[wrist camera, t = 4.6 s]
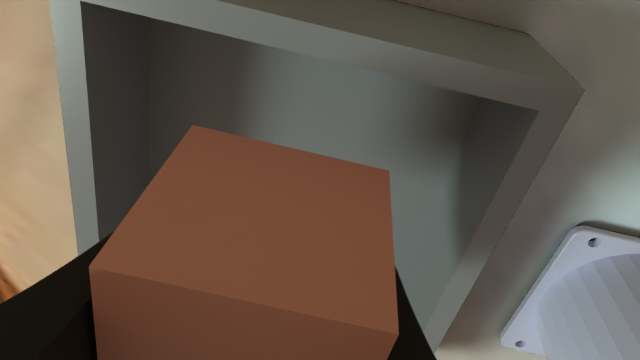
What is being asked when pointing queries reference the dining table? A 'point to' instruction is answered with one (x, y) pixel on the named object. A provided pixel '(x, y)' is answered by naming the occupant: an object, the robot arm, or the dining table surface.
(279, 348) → the cube
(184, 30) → the tote
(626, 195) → the dining table surface
